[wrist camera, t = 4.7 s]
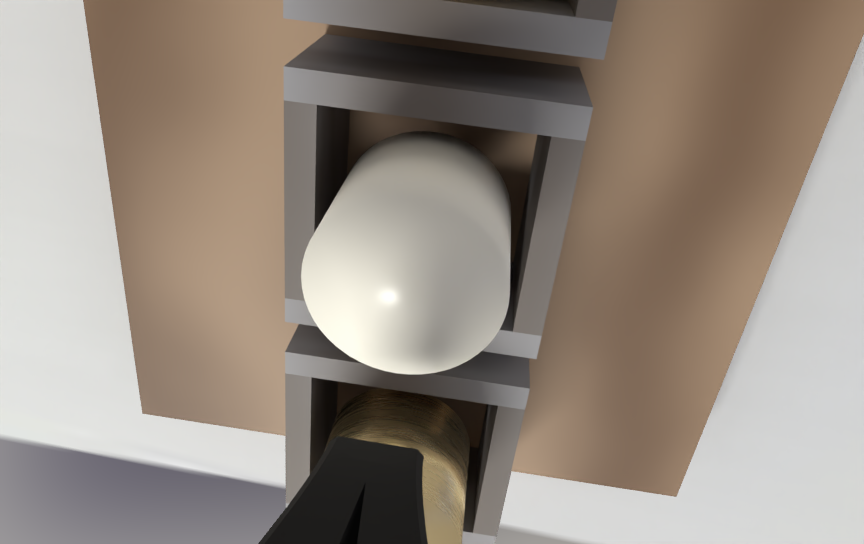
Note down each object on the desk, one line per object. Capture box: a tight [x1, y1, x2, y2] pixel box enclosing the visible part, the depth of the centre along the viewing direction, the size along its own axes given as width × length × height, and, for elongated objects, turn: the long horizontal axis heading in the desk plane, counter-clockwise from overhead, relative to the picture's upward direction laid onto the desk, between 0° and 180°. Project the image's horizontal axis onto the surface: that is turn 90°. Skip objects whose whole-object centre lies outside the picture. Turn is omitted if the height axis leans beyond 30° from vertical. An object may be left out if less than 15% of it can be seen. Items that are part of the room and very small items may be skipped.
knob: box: [324, 388, 470, 544], centre depth 15 cm, size 3×3×3 cm
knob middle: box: [301, 131, 511, 374], centre depth 12 cm, size 3×3×3 cm
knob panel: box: [83, 0, 864, 544], centre depth 15 cm, size 16×18×5 cm
